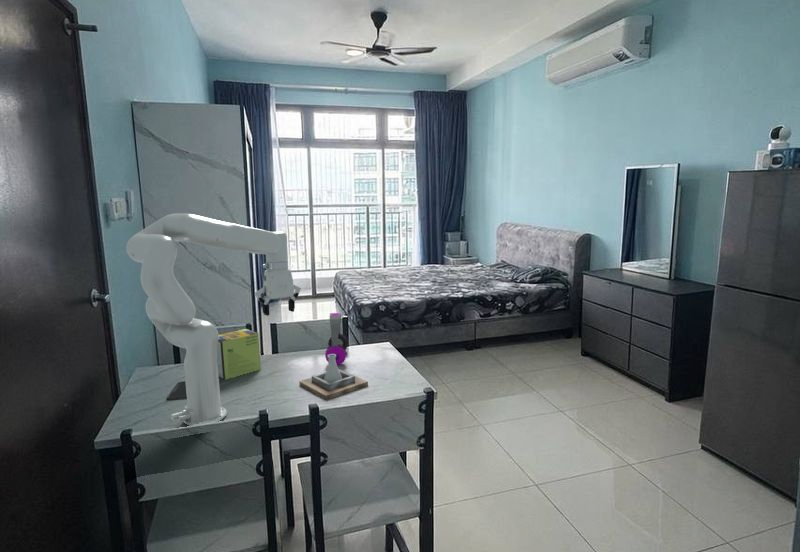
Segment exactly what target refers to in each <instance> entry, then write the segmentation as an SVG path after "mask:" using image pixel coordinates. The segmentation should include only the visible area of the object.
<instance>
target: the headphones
mask: <svg viewBox="0 0 800 552" xmlns="http://www.w3.org/2000/svg"><path fill="white" fill-rule="evenodd" d="M341 322H342V313H341V312H333V313H332V312H331V313H329V326H330V331H331V332H330V334H331V336H330V337H329V340H328V342H327V344H328V347H327V348H326V350H325V354H324V355H325V360H326V361H327V362H329V361H328V355H329V354H336V357H335V359H336V364H337V366H340V365H341V364H343V363H344V362H345V361H346V358H347V354H348V353H347V348H348V346H349V341H348V337H346V336H345V335H344V334H343V333H341Z"/></svg>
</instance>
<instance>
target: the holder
mask: <svg viewBox="0 0 800 552" xmlns="http://www.w3.org/2000/svg"><path fill="white" fill-rule="evenodd" d="M338 369H339V372H340V374H341V376H342V379H340V380H337V381H334V382H331V383H329V382H327V381H325V380H324V377H325V374H326V371H324V372H320V373H317V374H313V375H312V376H311V377H309V378H306V379H302V380H299V383H298V384H299V386H300V387H302V388H304V389H305V390H307V391H309V392H312V393H313V394H315V395H317V396H318V397H320V398H322V399H324V400H325V401H328V400H330V399H333V398H335V397H338V396H341V395H344V394H347V393H351V392H353V391H356V390H359V389H362V388H365V387H367V386H369V382H368V380H365V379H363V378H361V377H359V376H356V375H354V374H352V373H350V372H347V371H345V370H343V369H341V368H338Z"/></svg>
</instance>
